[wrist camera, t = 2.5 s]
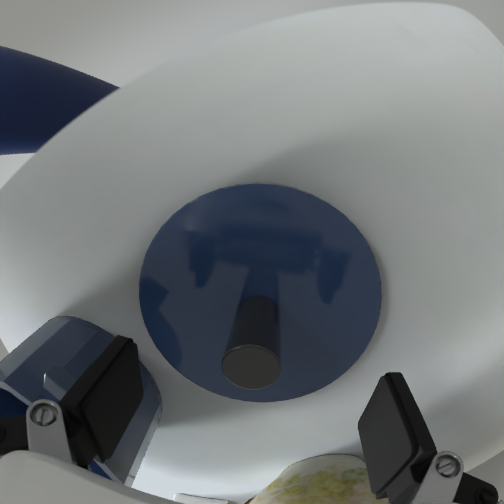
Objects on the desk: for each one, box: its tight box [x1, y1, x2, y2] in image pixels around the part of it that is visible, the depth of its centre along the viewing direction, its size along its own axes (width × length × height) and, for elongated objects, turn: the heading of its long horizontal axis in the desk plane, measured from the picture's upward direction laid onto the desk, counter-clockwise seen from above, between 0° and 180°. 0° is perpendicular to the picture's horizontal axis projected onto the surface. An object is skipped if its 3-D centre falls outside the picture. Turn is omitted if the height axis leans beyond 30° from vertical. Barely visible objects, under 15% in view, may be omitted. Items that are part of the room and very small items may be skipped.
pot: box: [0, 316, 162, 487], centre depth 15 cm, size 13×18×8 cm
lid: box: [139, 183, 382, 402], centre depth 13 cm, size 14×14×6 cm
